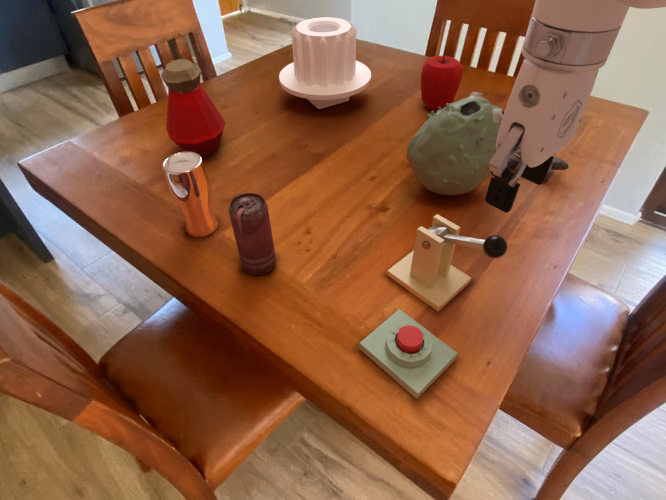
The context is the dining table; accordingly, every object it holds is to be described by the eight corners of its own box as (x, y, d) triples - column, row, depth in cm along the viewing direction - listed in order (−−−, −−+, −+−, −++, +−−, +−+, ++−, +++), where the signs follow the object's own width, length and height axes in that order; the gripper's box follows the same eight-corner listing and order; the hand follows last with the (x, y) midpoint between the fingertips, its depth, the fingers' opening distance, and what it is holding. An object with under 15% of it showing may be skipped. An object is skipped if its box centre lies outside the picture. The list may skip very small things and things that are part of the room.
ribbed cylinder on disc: (306, 129, 110) (301, 53, 97) (267, 91, 126) (258, 21, 112) (387, 105, 118) (393, 31, 105) (341, 72, 134) (341, 5, 120)
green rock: (390, 178, 95) (398, 90, 80) (464, 159, 99) (484, 73, 85) (426, 222, 84) (443, 130, 70) (506, 199, 89) (537, 108, 75)
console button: (426, 342, 62) (428, 336, 60) (410, 358, 60) (412, 351, 59) (407, 327, 64) (408, 320, 62) (391, 342, 62) (392, 335, 61)
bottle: (231, 162, 100) (213, 77, 86) (171, 170, 98) (142, 84, 84) (228, 128, 111) (212, 48, 97) (175, 134, 109) (150, 53, 95)
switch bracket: (470, 282, 73) (486, 231, 65) (437, 312, 69) (451, 261, 61) (419, 249, 79) (428, 198, 71) (386, 275, 75) (392, 224, 67)
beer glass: (199, 211, 88) (179, 147, 77) (227, 221, 86) (211, 156, 75) (176, 232, 83) (152, 167, 73) (205, 243, 81) (184, 177, 71)
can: (237, 275, 75) (221, 214, 65) (248, 250, 80) (234, 189, 70) (270, 279, 75) (259, 218, 65) (280, 253, 79) (271, 192, 69)
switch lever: (513, 252, 60) (510, 232, 58) (501, 264, 58) (497, 244, 57) (438, 239, 70) (434, 221, 68) (425, 248, 68) (421, 231, 67)
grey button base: (455, 359, 63) (460, 346, 61) (416, 399, 59) (419, 387, 56) (398, 315, 69) (400, 301, 66) (359, 349, 65) (359, 335, 62)
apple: (461, 114, 114) (472, 62, 105) (423, 117, 113) (431, 65, 104) (448, 96, 122) (457, 46, 112) (412, 99, 121) (419, 48, 111)
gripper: (562, 80, 34) (503, 242, 47) (647, 26, 42) (576, 176, 55) (480, 54, 38) (446, 210, 51) (572, 9, 46) (523, 153, 59)
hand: (514, 191), depth 53 cm, fingers open, 6 cm apart
